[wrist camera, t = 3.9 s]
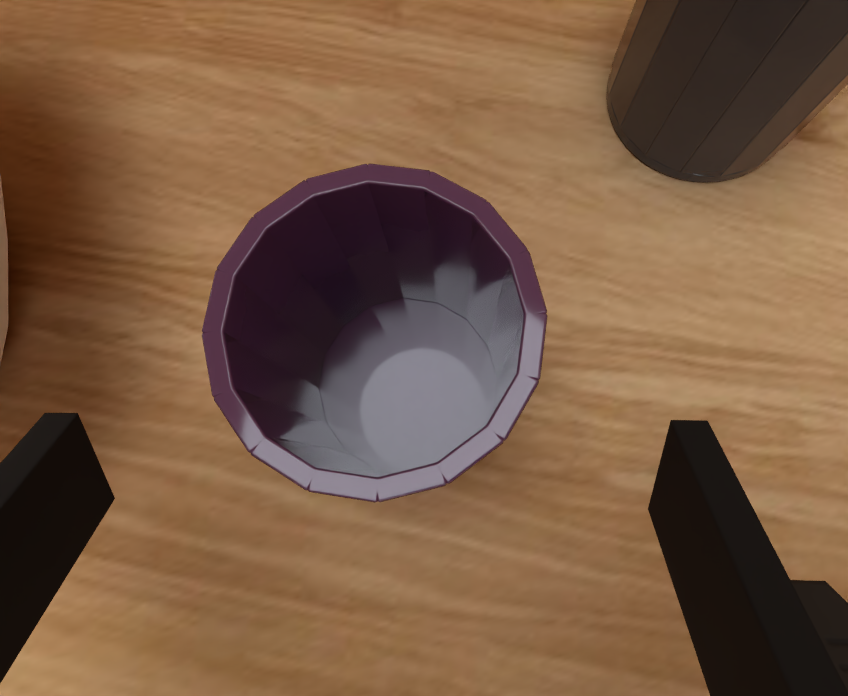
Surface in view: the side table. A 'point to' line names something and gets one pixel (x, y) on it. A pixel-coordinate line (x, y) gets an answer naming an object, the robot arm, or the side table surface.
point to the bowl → (3, 275)
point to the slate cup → (724, 80)
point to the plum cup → (374, 332)
